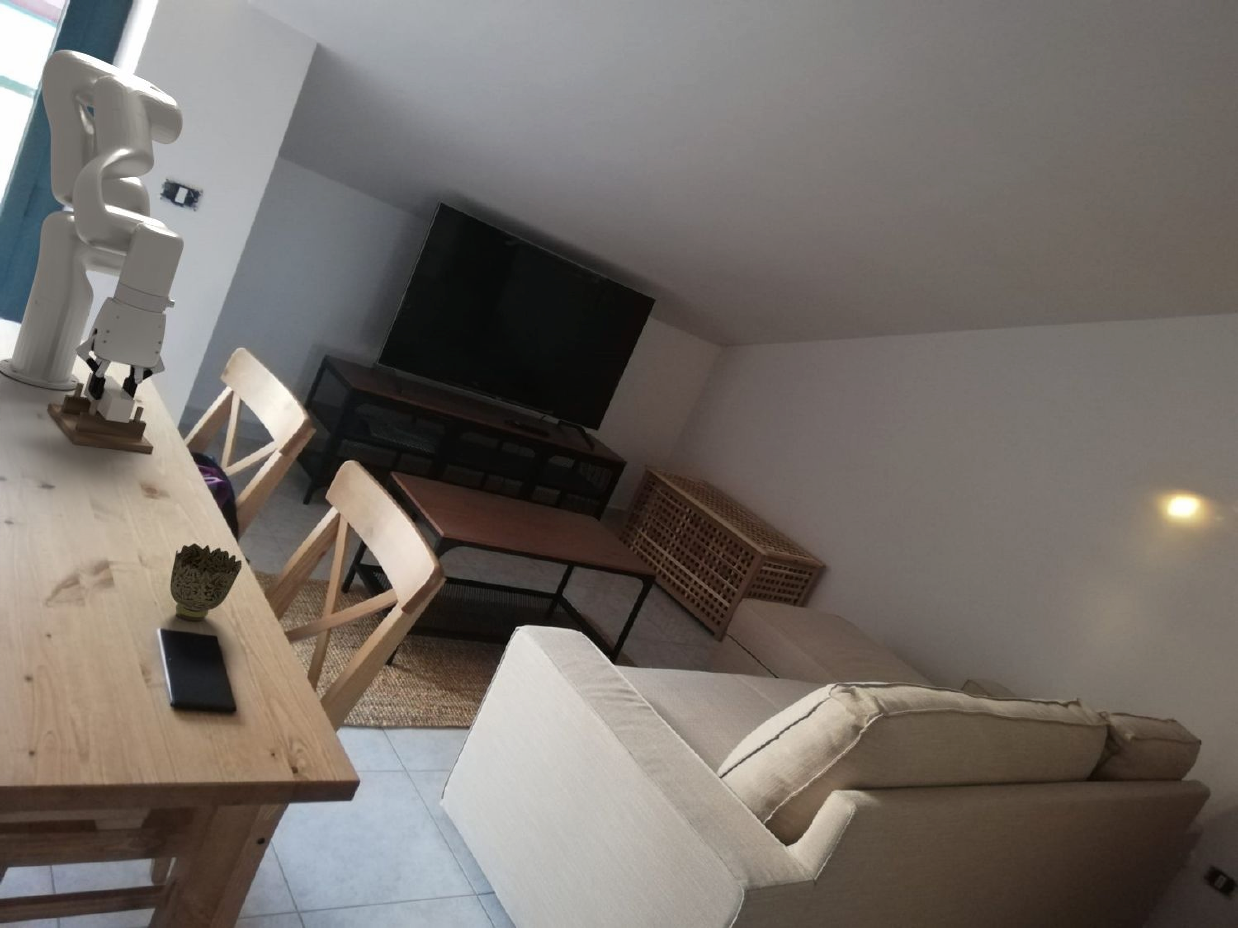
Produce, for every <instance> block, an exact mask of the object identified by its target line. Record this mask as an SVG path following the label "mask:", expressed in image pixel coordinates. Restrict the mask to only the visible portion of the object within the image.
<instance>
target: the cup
mask: <svg viewBox="0 0 1238 928" xmlns="http://www.w3.org/2000/svg"><path fill="white" fill-rule="evenodd" d="M236 558H237V556H236V555H235V554H232V555H231V556H230V554H229V552H228V550H223V551H222V549H221V548H220V547H218V548H216V549H214V550H212V551H211V549H210V545H209V544H207V545H206V546H205V547H204V548H202V546H200V545H199V544H197V543H192V544H190V545H189V546H188V545H186V544H183V546H182V547H181V551H180V552H179V551H178V549H176V552H175V557H174V562H173V567H172V571H171V578H170V588H169V590H170V595H171V597H172V599H173V600H174V601H175V603H177V604H175V612H176V614H177V616H178V617H180V618H181V619H184V620H187V621H190V622H191V621H192V622H195V621H196V622H197V621H198V622H199V621H201V620H203V619H205V618H206V617H207V616H208V614H209V611H210V610H213V609H215V608H217V607H219V606H220V605H221V604H222V603H223V602H224V601H225V599H226V598H227V597H228V595H229V594H230V591H231V590H232V588H233V586H234V583H235V581H236V579H237V577H238V575H239V573H240V571H241V570H242V567H243V566H242V564H243V563H242V560H241V559H240V560H236Z"/></svg>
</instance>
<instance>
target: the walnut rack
mask: <svg viewBox="0 0 1238 928" xmlns="http://www.w3.org/2000/svg"><path fill="white" fill-rule="evenodd" d="M84 386H85V383H83V382H80V381H79V382H78V383H77V386H76V388H74V389H75V390H74V392H73V394H67V393H66V394H65V395H64V399H63V403H62V404H58V403H51V402H50V403H49V404H48V407H47V411H48V412H49V414H50V415H51V416H52V418H53V419H54V420H55V421H56V423H57V424H58V425H59V427H60V428H61V429H62V430H63V431H64V433H65V434H66V436H68V438H69V439H70V441H71V442H72V443H73V444H74V445H78V446H85V447H86V446H88V447H95V448H96V447H97V448H103V449H111V450H113V449H114V450H122V451H130V452H140V453H146V454H147V453H148V454H153V450H154V445H152V443H151V442H150V441H149V440H148V439H147V438H146V437H145V436H144V433H145V430H146V427H147V422H146V421H145V420H141V418H142V416H143V412H144V407H142V406H136V410H135V413H134V416H133V419H132V418H130V420H129V423H125V422H118V421H111V420H106V419H105V418H104V417H103V416H102V415H101V413H100V412H99V411H98V410H97V407H98V404H99V401H98V400H94V399H93V400H92V403H91V402H90V401H89V399H88V398H87V397H86V396H82V393H83V389H84Z"/></svg>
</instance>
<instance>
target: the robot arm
mask: <svg viewBox="0 0 1238 928" xmlns="http://www.w3.org/2000/svg"><path fill="white" fill-rule="evenodd" d="M41 78H42V80H41V92H42V100H43V105H44V109H45V113H46V117H47V120H48V124H49V129H50V185H51V192H52V195H53V197H54V198H55V200H56V201H57V202H58V203H59V204H61V205H62V206H63V205H64V206H65V207H68V208H70V209H72V210H73V211H71V210H58V211H57V210H56V211H53V212H51V213H49V214H48V215H47V216H46V217H45V219H44V220H43V222H42V226H41V230H40V238H39V239H40V241H39V250H38V251H39V254H38V261H37V264H36V271H35V274H34V278H33V282H32V285H31V289H30V293H29V296H28V301H27V304H26V307H25V310H24V314H23V316H22V321H21V324H20V328H19V331H18V332H19V333H18V335H17V339H16V342H15V346H14V349H13V353H12V357H11V358H4V359H2V360H0V372H1V373H3V374H4V375H5V376H8V377H10V378H12V379H14V380H17V381H19V382H23V383H26V384H28V385H32V386H36V387H41V388H46V389H52V390H64V391H67V390H73V389H76V386H77V383H78V382H80V379H79V378H78V377H77V376H76V375H75V374H73V369H74V366H75V362H76V360H77V356H78V357H79V358H80V359H81V360H82V361H83V362H85V363H86V365H87V366H88V368H89V369H90V370H91V372H92V373H93V374H92V377H91V380H90V384H89V387H88V391H89V392H90V395H91V396H92V397H93V398H94V399H95V400H99V399H100V398H101V395H102V391H103V388H104V385H105V382H106V379H105V378H104V375H106V372H107V370H108V368H109V366H110V365H111V362H112V363H115V364H116V363H117V364H122V365H126V366H127V365H128V366H129V375H128V376H126V377H124V380H123V383H122V385H121V387H122V388H123V389H124V390H125V391H126V392H127V393H128V394H129V395H130V396H131V397H132V398H133V399H135V396H136V393H137V389H138V386H139V385H140V384H142V383H143V381H145V380H147V379H149V378H150V377H152V376H153V375H157V374H159V373H163V372H165V370H166V367H165V365H164V361H163V359H162V356H161V352H162V349H163V343H164V339H165V331H166V325H167V314H166V312H165V311H166V309H167V308H171V309H172V308H174V307H175V303H176V302H175V300H174V299H171V298H170V296H169V295H170V292H171V288H172V285H173V281H174V279H175V275H176V273H177V269H178V266H179V263H180V260H181V256H182V254H183V250H184V247H185V243H184V239H183V236H181V235H179V234H178V233H177V232H175V231H172V230H170V229H169V228H168V226H167V225H166V224H165V223H164V222H162V221H160V220H158V219H157V218H156V219H155V218H153V217H151V202H150V195H149V191H148V189H147V187H146V185H145V183H144V182H143V181H142V180H141V179H140V178H139V177H142V176H144V175H146V174H148V173H150V171H152V170H153V168H154V165H155V156H154V149H153V148H154V147H153V141H154V142H156V143H160V144H163V145H170V144H172V143H173V144H174V142H175V141H177V140H178V139H179V137H180V135H181V133H182V129H183V114H182V110H181V108H180V105H179V104H178V103H177V101H176V100H175V99H174V98H173V97H172V96H170V95H169V94H167V93H165V92H164V91H163V90H161V89H159V87H157V86H156V85H154V84H153V83H151V82H149V81H147V80H145V79H143V78H141V77H138V76H136V75H134V74H132V73H130V72H128V71H125V70H123V69H121V68H118V67H116V66H114V65H112V64H110V63H108V62H105V61H104V60H101V59H98V58H96V57H94V56H91V55H89V54H86V53H82V52H80V51H78V50H77V51H76V50H71V49H59V50H56V51H55V52H53V53H51V55H50V56H49V57H48V58H47V60H46V63H45V66H44V69H43V73H42V77H41ZM88 107H90V108H92V109H93V115H92V114H91V112H90V111H89V110H88ZM87 271H91V272H97V273H100V274H104V275H108V276H109V275H110V276H113V277H117V278H118V280H117V284H116V288H115V291H114V294H113V296H107V297H106V298H105V300H104V302H103V303H102V305H101V307H100V309H99V311H98V313H97V315H96V317H95V320H94V322H93V325H92V327H91V329H90V332H89V335H88V338H87V340H85V341H84V342H82V340H83V335H84V333H85V329H86V327H87V326H86V325H87V322H88V319H89V316H90V313H91V309H92V306H93V303H94V298H95V297H94V288H93V286H92V285H91V284H92V283H91V282H90V280H89V278H88V276H87ZM81 342H82V343H81ZM90 352H93V355H94V356H95V357H96V358H95V359H94V357H92V356H91V355H90Z"/></svg>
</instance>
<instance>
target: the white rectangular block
mask: <svg viewBox="0 0 1238 928" xmlns="http://www.w3.org/2000/svg"><path fill="white" fill-rule="evenodd" d="M92 374H93V372H89V375H88V378H87V380H86V385H85V388H84V391H83V395H84V397H87V398H88V399H89V401H90V402H91V403H92V400H93V399H94V398H93V397H92V396H91V395H90V392H89V391H88V387H89V384H90V380H91V377H92ZM104 378H105V379H106V382H105V385H104V388H103V391H102V395H101V398H100V399H99V400H98V401H99V404H98V407H97V410H98V411H99V412H100V413H101V415H102V416H103V417H104V418H105V419H106V420H111V421H118V422H125V423H129V420H130V419H131V416H132V413H133V410H134V407H135V402H136V400H135V398H132V397H131V396H130V395H129V394H128V393H127V392H126V391H125V390H124V389H123V388H122V385H121V384H119V382H118V381H117V380H116V379H115V378H114V377H113V376H112V375H108V374H107V375H106V374H105V375H104ZM94 400H95V399H94Z"/></svg>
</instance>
